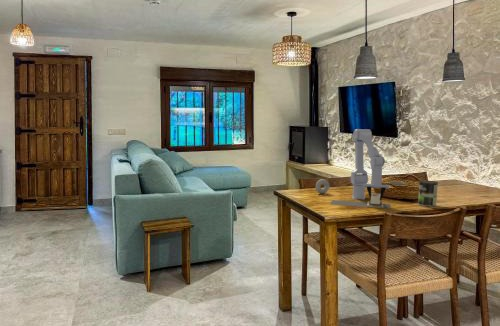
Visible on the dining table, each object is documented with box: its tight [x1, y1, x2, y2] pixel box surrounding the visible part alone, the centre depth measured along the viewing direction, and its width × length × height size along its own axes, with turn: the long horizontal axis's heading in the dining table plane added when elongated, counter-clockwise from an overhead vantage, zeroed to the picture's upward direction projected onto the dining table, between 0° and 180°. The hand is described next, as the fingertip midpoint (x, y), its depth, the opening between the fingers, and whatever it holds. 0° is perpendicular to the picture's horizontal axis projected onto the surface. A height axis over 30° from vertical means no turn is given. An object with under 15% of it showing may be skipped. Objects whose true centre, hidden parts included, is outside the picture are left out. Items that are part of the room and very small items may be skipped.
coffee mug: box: [388, 180, 406, 186], centre depth 274 cm, size 13×10×10 cm
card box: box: [370, 192, 381, 204], centre depth 247 cm, size 9×5×5 cm, turn 161°
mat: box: [330, 199, 392, 210], centre depth 251 cm, size 13×34×1 cm, turn 73°
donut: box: [315, 178, 330, 195], centre depth 284 cm, size 10×4×10 cm, turn 107°
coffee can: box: [417, 179, 439, 207], centre depth 252 cm, size 10×10×14 cm
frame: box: [366, 200, 384, 209], centre depth 248 cm, size 13×9×1 cm
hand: (375, 200), depth 248 cm, fingers closed on card box, 5 cm apart
